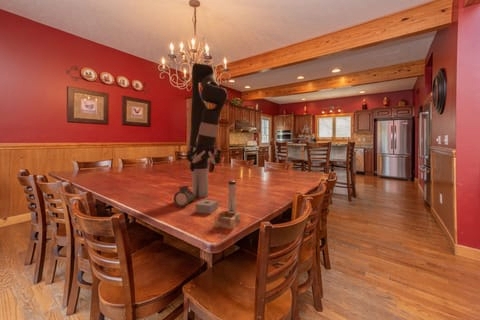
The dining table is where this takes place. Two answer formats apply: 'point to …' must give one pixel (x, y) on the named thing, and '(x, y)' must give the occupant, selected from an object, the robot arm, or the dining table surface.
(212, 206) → the block
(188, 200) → the pipe fitting
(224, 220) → the wooden square box frame
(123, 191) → the dining table surface
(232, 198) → the pin
